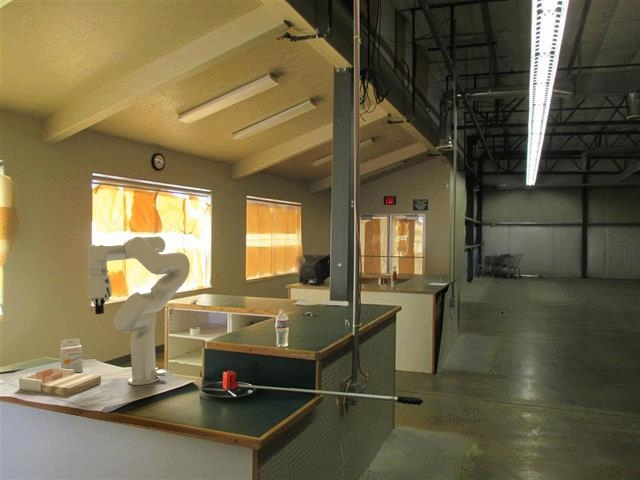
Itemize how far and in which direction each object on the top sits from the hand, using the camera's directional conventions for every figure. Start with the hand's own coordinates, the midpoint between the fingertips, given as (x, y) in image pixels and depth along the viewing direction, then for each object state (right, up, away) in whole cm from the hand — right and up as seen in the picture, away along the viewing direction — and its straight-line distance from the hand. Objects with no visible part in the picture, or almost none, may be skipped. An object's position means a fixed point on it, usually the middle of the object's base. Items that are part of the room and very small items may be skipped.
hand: (99, 313), depth 217 cm
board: (-4, -28, -16) cm, 32 cm away
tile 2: (-13, -27, -13) cm, 32 cm away
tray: (-17, -28, -11) cm, 34 cm away
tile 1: (-16, -24, -12) cm, 32 cm away
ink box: (-15, -28, +6) cm, 32 cm away
